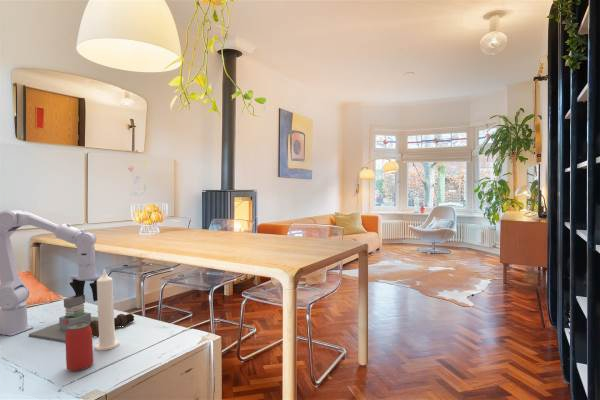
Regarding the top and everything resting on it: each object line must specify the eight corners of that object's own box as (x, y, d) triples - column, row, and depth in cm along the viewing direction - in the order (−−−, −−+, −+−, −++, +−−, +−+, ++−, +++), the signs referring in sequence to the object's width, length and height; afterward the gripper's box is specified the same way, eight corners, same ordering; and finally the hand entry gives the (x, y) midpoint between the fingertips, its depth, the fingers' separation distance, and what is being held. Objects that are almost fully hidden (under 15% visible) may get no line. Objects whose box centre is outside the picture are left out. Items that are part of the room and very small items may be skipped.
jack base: (28, 336, 128) (27, 320, 128) (80, 316, 147) (79, 303, 147) (70, 343, 121) (69, 327, 121) (118, 321, 140) (118, 308, 140)
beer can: (97, 360, 108) (96, 320, 108) (85, 371, 102) (83, 329, 101) (75, 361, 108) (73, 321, 108) (61, 372, 101) (59, 330, 101)
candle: (92, 352, 114) (88, 272, 113) (98, 343, 121) (95, 268, 120) (117, 349, 116) (113, 270, 115) (121, 340, 123) (118, 266, 122)
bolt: (133, 327, 139) (94, 340, 127) (126, 318, 142) (87, 331, 129) (138, 315, 138) (98, 327, 125) (131, 307, 140) (91, 318, 127)
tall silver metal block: (63, 320, 132) (62, 298, 132) (78, 315, 137) (77, 294, 137) (71, 321, 130) (71, 299, 130) (86, 316, 136) (86, 295, 136)
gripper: (62, 265, 137) (64, 301, 137) (93, 267, 133) (95, 304, 133) (78, 262, 143) (79, 296, 144) (108, 263, 140) (110, 298, 140)
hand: (88, 299), depth 139 cm, fingers open, 7 cm apart
